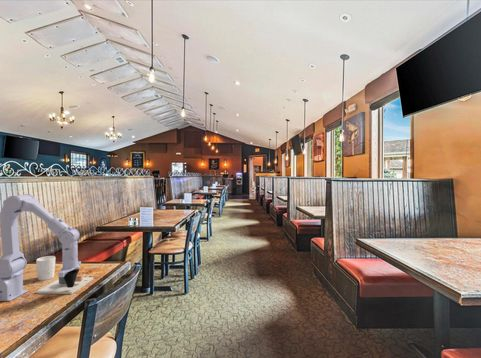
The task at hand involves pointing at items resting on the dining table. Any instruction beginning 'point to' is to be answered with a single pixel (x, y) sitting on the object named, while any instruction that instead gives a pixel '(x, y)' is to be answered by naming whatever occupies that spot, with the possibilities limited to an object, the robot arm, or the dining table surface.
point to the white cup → (45, 267)
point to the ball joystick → (78, 279)
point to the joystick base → (63, 287)
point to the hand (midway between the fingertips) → (70, 286)
